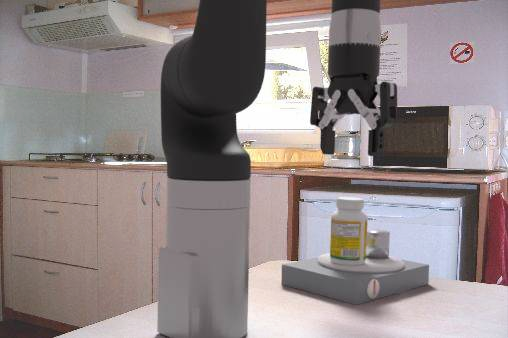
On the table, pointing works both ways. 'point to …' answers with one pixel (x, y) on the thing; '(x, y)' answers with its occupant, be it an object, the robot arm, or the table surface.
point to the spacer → (377, 244)
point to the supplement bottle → (348, 232)
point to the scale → (355, 278)
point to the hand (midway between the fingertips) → (350, 155)
